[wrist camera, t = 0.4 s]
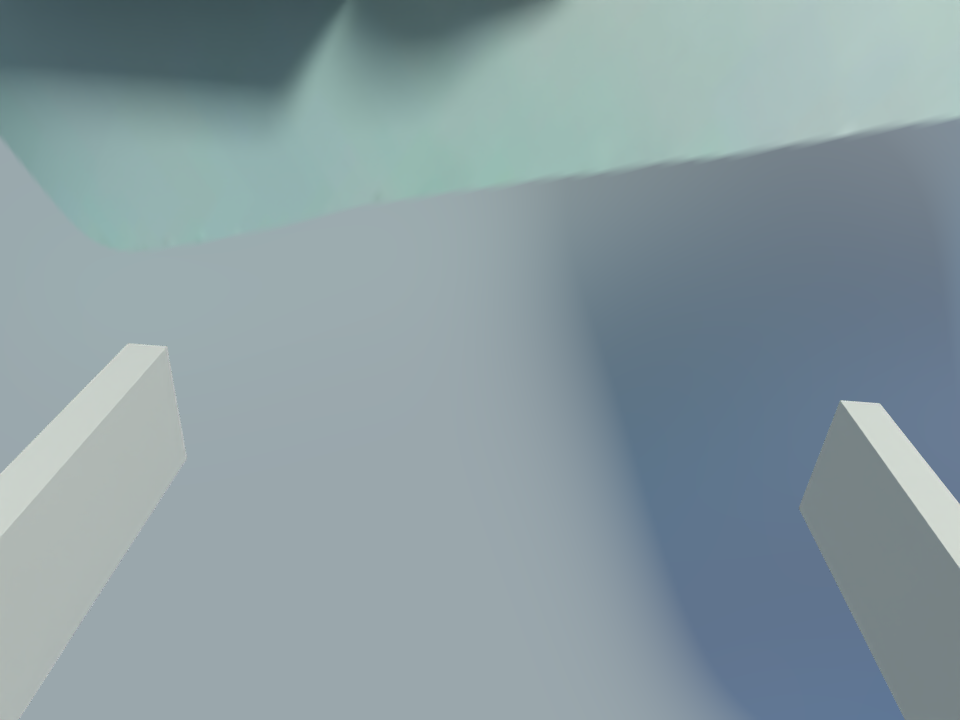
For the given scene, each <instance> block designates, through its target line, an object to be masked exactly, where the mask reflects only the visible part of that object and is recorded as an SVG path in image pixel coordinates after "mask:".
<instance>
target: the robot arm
mask: <svg viewBox="0 0 960 720" xmlns="http://www.w3.org/2000/svg"><path fill="white" fill-rule="evenodd" d="M186 459H187V455H186V450H185V444H184V439H183V433H182V427H181V422H180V416H179V411H178V405H177V399H176V394H175V388H174V382H173V377H172V371H171V365H170V360H169V354H168V349H167V346H154V345H141V344H127V345H126V346H125V347H124V348H123V349H122V350H121V351H120V352H119V353H118V354H117V355H116V356H115V357H114V358H113V359H112V360H111V361H110V362H109V363H108V365H106V366H105V367H104V368H103V369H102V371H101V372H100V373H99V374H98V375H97V376H96V377H95V378H94V379H93V380H92V381H91V382H90V383H89V384H88V385H87V386H86V387H85V388H84V389H83V390H82V391H81V392H80V393H79V394H78V395H77V396H76V397H75V398H74V399H73V400H72V401H71V402H70V403H69V404H68V405H67V406H66V407H65V408H64V409H63V410H62V411H61V412H60V413H59V414H58V415H57V416H56V417H55V419H54V420H53V421H52V422H51V423H50V424H49V425H48V426H47V427H46V428H45V429H44V430H43V431H42V432H41V433H40V434H39V435H38V436H37V437H36V438H35V439H34V440H33V441H32V442H31V443H30V444H29V445H28V446H27V447H26V448H25V449H24V450H23V451H22V452H21V453H20V454H19V455H18V456H17V457H16V458H15V459H14V460H13V462H11V464H10V465H8V467H6V469H5V470H4V471H3V472H2V473H1V474H0V720H19V719H20V717H21V715H22V714H23V712H24V711H25V709H26V708H27V706H28V705H29V703H30V702H31V700H32V698H33V697H34V695H35V694H36V692H37V691H38V689H39V687H40V686H41V684H42V683H43V681H44V679H45V678H46V676H47V675H48V674H49V672H50V670H51V669H52V667H53V666H54V664H55V662H56V661H57V660H58V658H59V656H60V655H61V653H62V652H63V650H64V649H65V647H66V646H67V644H68V643H69V641H70V639H71V638H72V636H73V635H74V633H75V632H76V630H77V628H78V627H79V625H80V624H81V622H82V620H83V619H84V618H85V616H86V615H87V613H88V611H89V610H90V608H91V607H92V605H93V604H94V602H95V601H96V599H97V597H98V596H99V594H100V593H101V591H102V590H103V588H104V587H105V585H106V584H107V582H108V580H109V579H110V577H111V576H112V574H113V573H114V571H115V570H116V568H117V566H118V565H119V563H120V562H121V560H122V559H123V557H124V556H125V554H126V553H127V551H128V549H129V548H130V546H131V545H132V543H133V541H134V540H135V539H136V537H137V535H138V534H139V532H140V531H141V529H142V528H143V526H144V524H145V523H146V521H147V520H148V518H149V517H150V515H151V514H152V512H153V511H154V509H155V507H156V506H157V504H158V503H159V501H160V500H161V498H162V497H163V495H164V494H165V492H166V490H167V489H168V487H169V486H170V484H171V483H172V481H173V480H174V478H175V476H176V475H177V473H178V472H179V470H180V469H181V467H182V466H183V464H184V462H185V461H186ZM799 509H800V511H801V513H802V515H803V517H804V519H805V521H806V523H807V525H808V527H809V529H810V531H811V533H812V535H813V537H814V539H815V541H816V543H817V545H818V547H819V549H820V551H821V553H822V555H823V557H824V559H825V561H826V563H827V565H828V567H829V569H830V571H831V573H832V575H833V577H834V579H835V581H836V583H837V585H838V587H839V589H840V591H841V593H842V595H843V597H844V599H845V601H846V603H847V605H848V607H849V609H850V611H851V613H852V615H853V617H854V619H855V621H856V623H857V625H858V627H859V629H860V631H861V633H862V635H863V637H864V639H865V641H866V643H867V645H868V647H869V649H870V651H871V653H872V655H873V657H874V659H875V661H876V663H877V665H878V667H879V669H880V671H881V673H882V675H883V677H884V679H885V681H886V682H887V685H888V686H889V689H890V691H891V692H892V695H893V697H894V699H895V701H896V703H897V705H898V707H899V709H900V711H901V713H902V715H903V716H904V718H905V720H960V504H959V503H958V502H957V500H956V499H955V498H954V496H953V495H952V494H951V493H950V491H949V490H948V489H947V488H946V487H945V485H944V484H943V483H942V481H941V480H940V479H939V478H938V476H937V475H936V474H935V473H934V471H933V470H932V469H931V468H930V466H929V465H928V464H927V462H925V460H924V459H923V457H922V456H921V455H920V454H919V452H918V451H917V450H916V449H915V447H914V446H913V445H912V444H911V442H910V441H909V440H908V439H907V437H906V436H905V435H904V434H903V432H902V431H901V430H900V429H899V427H898V426H897V425H896V424H895V422H894V421H893V420H892V418H891V417H890V416H889V415H888V413H887V412H886V411H885V410H884V408H883V407H882V406H881V405H880V404H879V403H866V402H854V401H842V400H841V401H840V402H839V405H838V407H837V410H836V413H835V415H834V418H833V421H832V423H831V426H830V428H829V431H828V433H827V437H826V439H825V442H824V444H823V447H822V449H821V452H820V454H819V457H818V460H817V462H816V465H815V467H814V470H813V472H812V475H811V478H810V480H809V483H808V486H807V488H806V491H805V493H804V496H803V499H802V501H801V504H800V506H799Z"/></svg>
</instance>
